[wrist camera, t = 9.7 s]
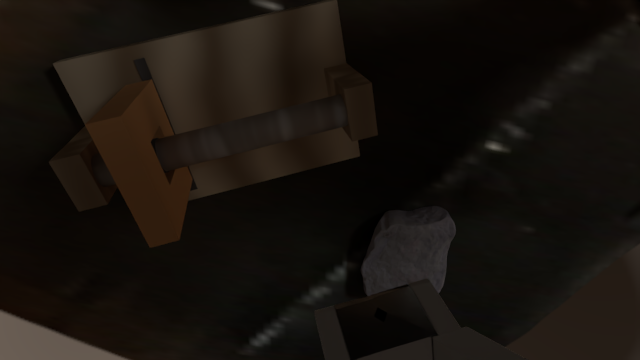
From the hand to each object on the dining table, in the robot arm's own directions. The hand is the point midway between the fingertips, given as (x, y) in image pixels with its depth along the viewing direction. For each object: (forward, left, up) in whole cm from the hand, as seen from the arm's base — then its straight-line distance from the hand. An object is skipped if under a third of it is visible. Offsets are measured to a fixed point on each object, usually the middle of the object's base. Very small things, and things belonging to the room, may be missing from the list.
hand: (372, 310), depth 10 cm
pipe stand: (+5, +2, -27) cm, 28 cm away
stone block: (-9, +23, -28) cm, 37 cm away
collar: (+10, +2, -25) cm, 27 cm away
